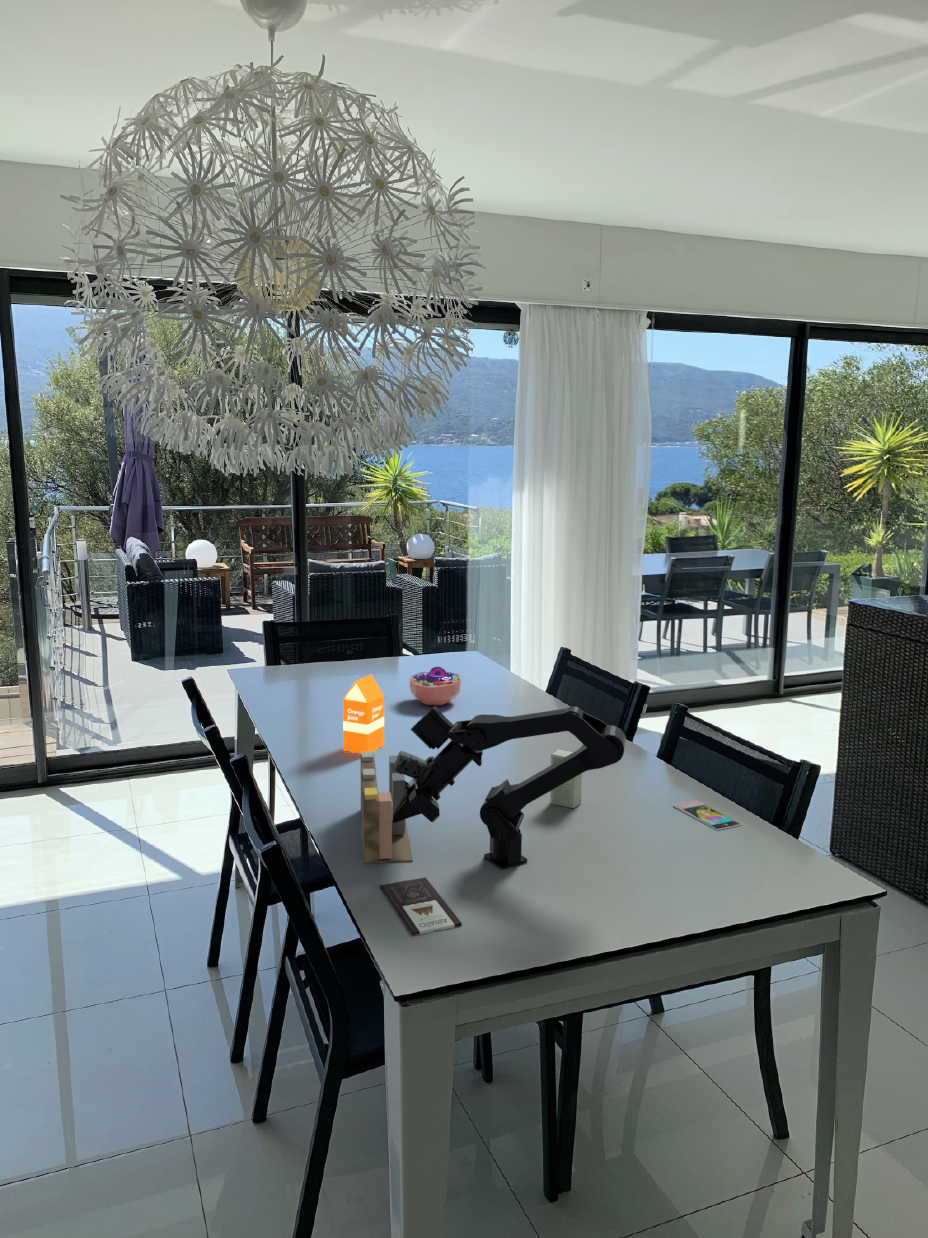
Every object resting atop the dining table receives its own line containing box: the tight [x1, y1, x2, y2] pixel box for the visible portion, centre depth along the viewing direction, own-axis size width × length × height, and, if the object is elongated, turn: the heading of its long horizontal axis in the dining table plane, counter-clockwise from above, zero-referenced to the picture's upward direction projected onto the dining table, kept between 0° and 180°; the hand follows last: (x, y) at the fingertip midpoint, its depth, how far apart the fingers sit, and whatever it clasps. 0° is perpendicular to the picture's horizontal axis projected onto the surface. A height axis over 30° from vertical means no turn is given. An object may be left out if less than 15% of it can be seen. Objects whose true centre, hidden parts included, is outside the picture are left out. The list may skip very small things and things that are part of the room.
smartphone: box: [672, 800, 742, 832], centre depth 204 cm, size 7×1×15 cm
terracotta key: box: [378, 792, 393, 859], centre depth 180 cm, size 3×4×12 cm, turn 8°
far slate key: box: [388, 755, 398, 799], centre depth 202 cm, size 3×4×12 cm, turn 8°
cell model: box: [409, 666, 462, 706], centre depth 290 cm, size 17×20×11 cm
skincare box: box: [550, 748, 583, 809], centre depth 209 cm, size 6×4×12 cm
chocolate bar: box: [379, 876, 463, 937], centre depth 162 cm, size 9×1×18 cm
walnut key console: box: [359, 751, 413, 864], centre depth 190 cm, size 10×27×14 cm, turn 8°
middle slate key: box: [392, 773, 406, 835], centre depth 191 cm, size 3×4×12 cm, turn 8°
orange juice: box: [342, 674, 385, 754], centre depth 244 cm, size 8×9×20 cm
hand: (392, 821), depth 180 cm, fingers closed, pressing on terracotta key
